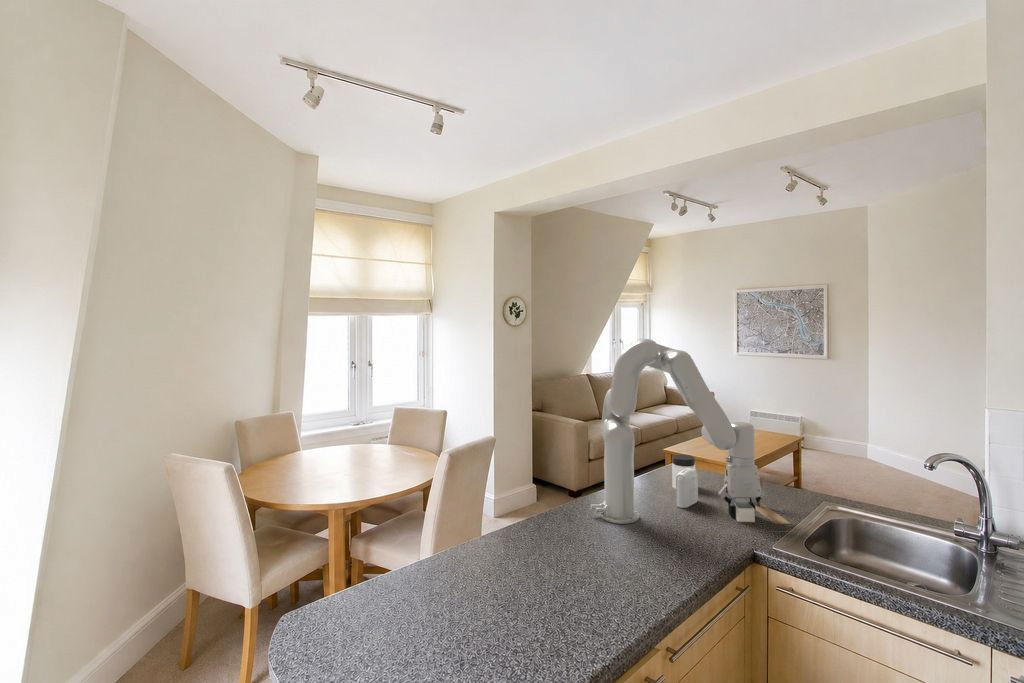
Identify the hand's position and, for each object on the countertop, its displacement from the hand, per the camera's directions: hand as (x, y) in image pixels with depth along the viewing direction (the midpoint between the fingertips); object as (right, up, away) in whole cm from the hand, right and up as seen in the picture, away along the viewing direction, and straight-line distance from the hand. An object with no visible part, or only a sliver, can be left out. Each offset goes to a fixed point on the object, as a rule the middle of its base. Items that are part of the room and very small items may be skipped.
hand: (741, 515), depth 157 cm
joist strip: (+10, 0, +2) cm, 10 cm away
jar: (-8, 0, +30) cm, 31 cm away
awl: (+10, 0, +9) cm, 13 cm away
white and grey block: (0, -1, 0) cm, 1 cm away
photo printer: (-13, -1, +13) cm, 18 cm away
